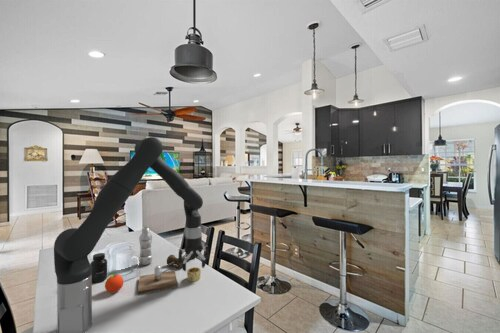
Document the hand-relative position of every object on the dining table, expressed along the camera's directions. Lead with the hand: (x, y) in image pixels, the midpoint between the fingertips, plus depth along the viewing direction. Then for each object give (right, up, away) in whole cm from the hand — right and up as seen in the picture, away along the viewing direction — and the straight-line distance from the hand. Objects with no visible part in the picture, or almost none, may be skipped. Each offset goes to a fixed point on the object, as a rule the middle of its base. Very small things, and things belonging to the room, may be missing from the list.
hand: (194, 268), depth 111 cm
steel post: (-16, -3, -5) cm, 17 cm away
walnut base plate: (-16, -5, -5) cm, 17 cm away
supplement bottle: (-45, -5, -2) cm, 45 cm away
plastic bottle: (-30, -4, +15) cm, 34 cm away
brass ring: (0, -5, 0) cm, 5 cm away
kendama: (-11, -5, +16) cm, 20 cm away
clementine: (-32, -5, -11) cm, 35 cm away
